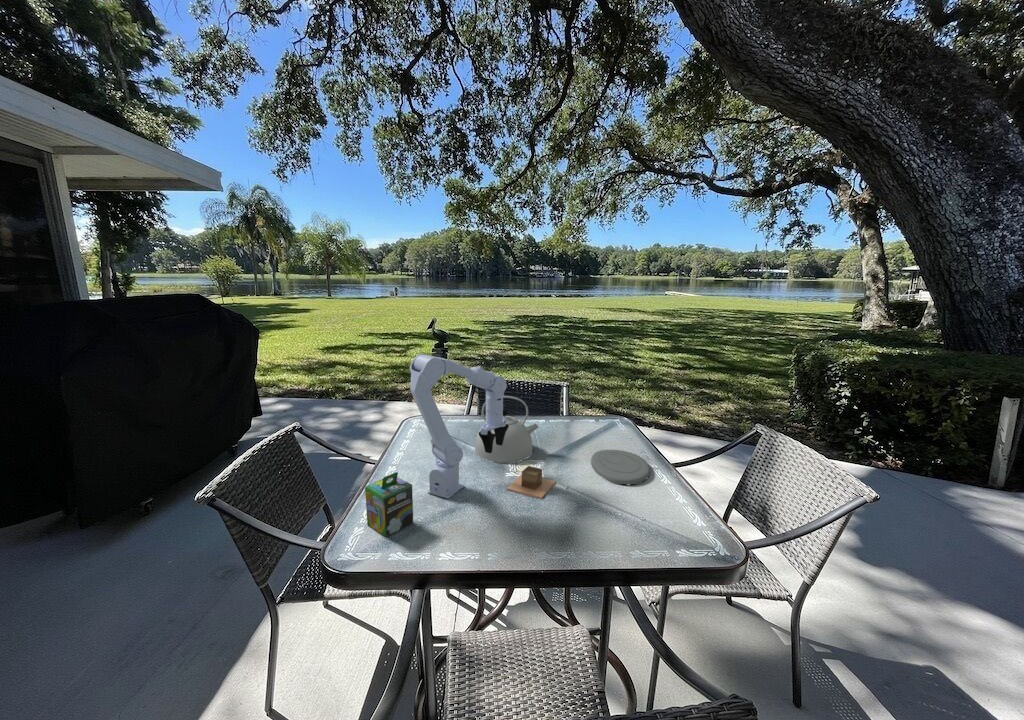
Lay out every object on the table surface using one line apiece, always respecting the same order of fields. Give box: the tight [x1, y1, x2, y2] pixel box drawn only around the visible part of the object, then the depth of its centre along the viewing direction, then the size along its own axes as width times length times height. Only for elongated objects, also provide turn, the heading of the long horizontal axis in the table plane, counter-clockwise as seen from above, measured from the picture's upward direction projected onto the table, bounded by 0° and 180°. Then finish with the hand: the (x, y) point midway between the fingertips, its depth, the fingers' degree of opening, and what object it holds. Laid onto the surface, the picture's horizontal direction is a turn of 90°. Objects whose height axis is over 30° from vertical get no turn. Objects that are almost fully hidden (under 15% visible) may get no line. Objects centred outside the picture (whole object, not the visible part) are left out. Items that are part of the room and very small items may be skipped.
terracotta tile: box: [506, 474, 556, 500], centre depth 137 cm, size 12×12×1 cm
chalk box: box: [364, 471, 414, 538], centre depth 113 cm, size 9×9×15 cm
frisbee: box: [590, 449, 651, 485], centre depth 152 cm, size 20×27×3 cm
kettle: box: [474, 395, 540, 464], centre depth 164 cm, size 25×23×22 cm
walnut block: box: [521, 465, 543, 490], centre depth 137 cm, size 5×5×5 cm
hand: (494, 448), depth 144 cm, fingers open, 7 cm apart
